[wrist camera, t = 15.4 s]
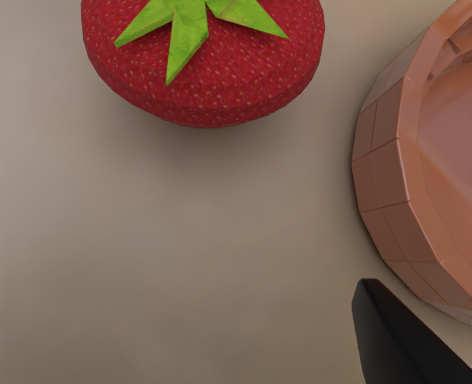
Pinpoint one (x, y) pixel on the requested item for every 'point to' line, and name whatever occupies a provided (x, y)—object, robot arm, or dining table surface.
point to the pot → (422, 163)
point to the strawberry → (205, 55)
